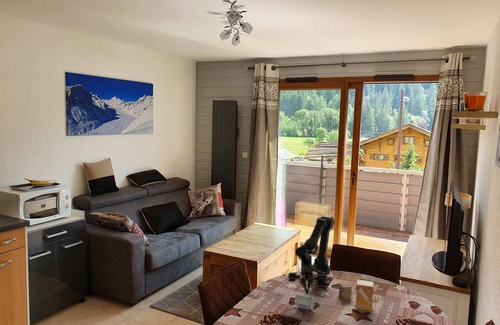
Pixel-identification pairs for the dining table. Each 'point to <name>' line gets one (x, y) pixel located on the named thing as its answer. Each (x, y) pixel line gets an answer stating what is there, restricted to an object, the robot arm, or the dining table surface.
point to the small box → (364, 295)
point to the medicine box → (304, 302)
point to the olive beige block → (345, 291)
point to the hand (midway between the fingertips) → (306, 294)
